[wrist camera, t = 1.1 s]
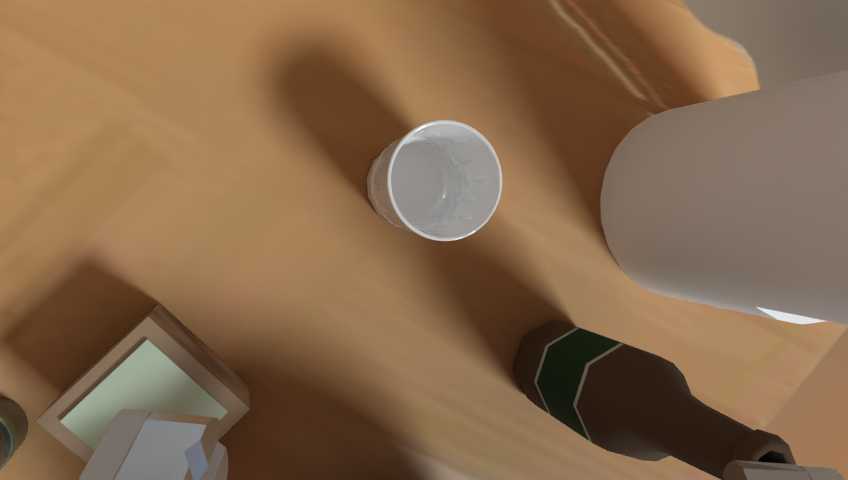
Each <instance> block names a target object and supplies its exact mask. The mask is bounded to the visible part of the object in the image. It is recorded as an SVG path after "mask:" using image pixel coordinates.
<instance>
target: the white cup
mask: <svg viewBox="0 0 848 480" xmlns="http://www.w3.org/2000/svg"><path fill="white" fill-rule="evenodd" d="M367 190H368V199H369V200H370V202H371V204H372V205H373V207H374V209H375V211H376V212H377V214H378V215H379V216H381V217H382V218H384V219H385V220H387V221H388V222H390V223H391V224H392V225H395V226H396V227H398V228H401V229H403V230H405V231H408V232H410V233H413V234H416V235H420V236H423V237H425V238H428V239H432V240H437V241H453V240H458V239H462V238H465V237H467V236H469V235H471V234H473V233H474V232H476V231H477V230H479V229H480V228H481V227H482V226H483V225H484V224H485V223H486V222H487V221H488V220H489V219H490V217H491V216H492V214H493V213H494V211H495V209H496V207H497V205H498V202H499V199H500V195H501V190H502V172H501V167H500V163H499V160H498V157H497V155H496V153H495V151H494V149H493V147H492V146H491V144H490V143H489V142H488V140H487V139H486V138H485V137H484V136H483V135H482V134H481V133H479V132H478V131H477V130H475V129H474V128H472V127H470V126H469V125H466V124H464V123H461V122H458V121H453V120H435V121H430V122H427V123H424V124H422V125H420V126H418V127H416V128H414V129H413V130H411V131H410V132H408V133H407V134H405V135H403V136H402V137H400V138H398V139H397V140H395V141H394V142H393V143H392V144H390V145H389V146H388V147H387V148H385V149H384V151H383V152H382V153H381V154H380V155H379V156H378V157H377V158H375V159H374V160H373V163H372V165H371V168H370V171H369V173H368V176H367Z"/></svg>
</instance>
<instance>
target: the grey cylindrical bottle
mask: <svg viewBox="0 0 848 480" xmlns="http://www.w3.org/2000/svg"><path fill="white" fill-rule="evenodd" d="M27 431H28V420H27V416H26V414H25V412H24V410H23V409H22V408H21V407H20V406H19V405H18V404H17V403H16V402H14V401H12V400H10V399H8V398H5V397H0V469H2V467H3V466H4V465H5V464H6V463H7V462H8V461H9V460H10V458H11V457H12V456H13V454H14V452H15V451H16V450H17V449H18V447H19V446H20V445H21V444H22V443H23V441H24V439H25V437H26V435H27Z"/></svg>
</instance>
